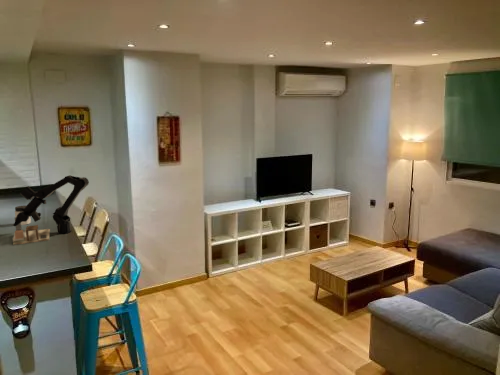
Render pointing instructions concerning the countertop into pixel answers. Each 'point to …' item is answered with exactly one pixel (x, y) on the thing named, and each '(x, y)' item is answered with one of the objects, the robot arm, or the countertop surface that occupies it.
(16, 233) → the knobbed beige slab
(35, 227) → the tunnel
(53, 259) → the countertop surface
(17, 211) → the jar
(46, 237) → the board
